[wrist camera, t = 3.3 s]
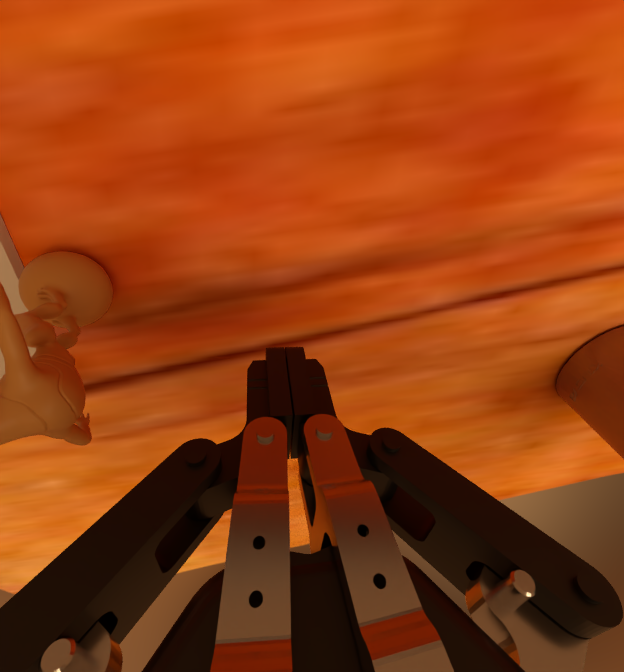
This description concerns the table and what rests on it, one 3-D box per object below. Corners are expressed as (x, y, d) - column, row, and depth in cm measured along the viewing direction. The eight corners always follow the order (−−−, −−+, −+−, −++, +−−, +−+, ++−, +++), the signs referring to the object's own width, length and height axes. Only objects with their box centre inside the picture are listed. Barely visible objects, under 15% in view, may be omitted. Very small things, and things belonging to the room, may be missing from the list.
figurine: (8, 199, 16) (-354, 342, 7) (135, 195, 17) (-26, 319, 7) (78, 335, 21) (-73, 533, 11) (175, 328, 22) (109, 509, 12)
